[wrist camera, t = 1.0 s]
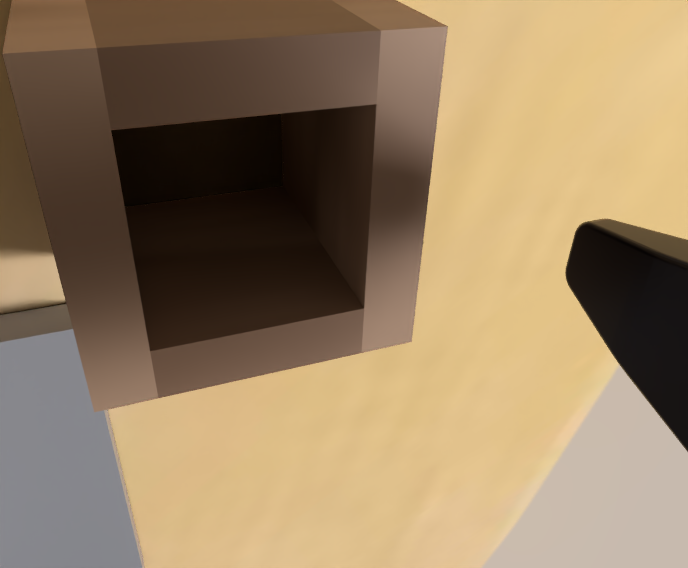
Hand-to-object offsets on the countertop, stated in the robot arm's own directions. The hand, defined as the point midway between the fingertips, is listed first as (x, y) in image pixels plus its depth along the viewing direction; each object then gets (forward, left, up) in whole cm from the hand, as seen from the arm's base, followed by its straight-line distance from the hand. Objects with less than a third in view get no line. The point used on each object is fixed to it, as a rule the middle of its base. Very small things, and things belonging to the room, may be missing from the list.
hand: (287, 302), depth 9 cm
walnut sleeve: (0, 0, -7) cm, 7 cm away
